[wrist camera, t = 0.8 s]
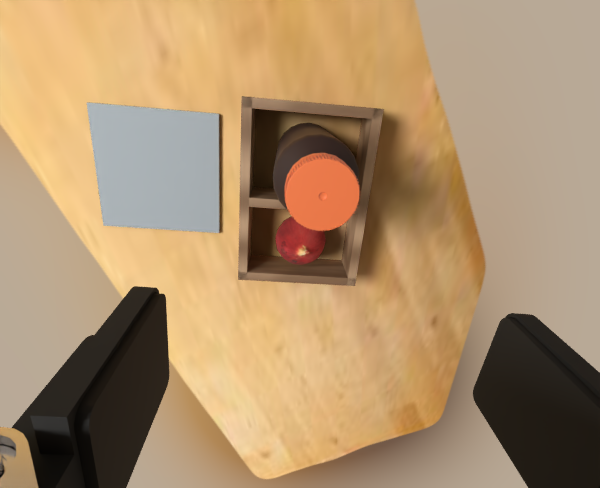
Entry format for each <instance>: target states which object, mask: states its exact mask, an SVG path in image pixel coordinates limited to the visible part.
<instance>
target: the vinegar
mask: <svg viewBox="0 0 600 488" xmlns="http://www.w3.org/2000/svg"><path fill="white" fill-rule="evenodd" d="M273 184H274V190H275V192H276V195H277V197H278V199H279V201H280V203H281V204H282V205H283V206H284V207H285V208H286V209H287V210H288V211H289V212H290V215H292V218H293V217H294V220H296V222H298V224H301V226H302V225H303V226H304V227H306V228H309V229H312V230H316V231H323V230H325V231H326V230H328V231H329V230H332V229H335V228H336V227H337V228H338V227H339V226H340V227H341V225H343V223H346V221H348V220H349V219H351V218H350V217H351V216H353V215H352V214H353V213H354V212H355V211H356V208H358V207H357V205H359V204H358V202H360V201H359V199H360V197H359V196H360V194H359V193H360V191H359V189H360V188H359V186H360V185H359V169H358V165H357V162H356V159H355V156H354V155H353V154H352V152H351V151H350V150H349V148H348V147H347V146H346V145H345V144H344V143H342V142H341V141H340V140H338V139H337V138H336V137H334V136H333V135H331V134H330V133H329V132H327V131H326V130H324V129H323V128H322V127H320V126H319V125H315V124H312V123H300V124H297V125H295V126H293V127H291V128H289V129H288V130H287V131H286V132H285V133H284V134H283V136H282V137H281V139H280V141H279V144H278V148H277V153H276V159H275V165H274V171H273ZM354 214H355V213H354Z"/></svg>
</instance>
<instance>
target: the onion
mask: <svg viewBox="0 0 600 488" xmlns="http://www.w3.org/2000/svg"><path fill="white" fill-rule="evenodd" d="M275 239H276V245H277V250H278V251H279V253H280V254H281V256H282V257H283V258H284V259H285V260H287V261H288V262H290V263H292V264H297V265H304V264H307V263H311V262H313V261H314V260H316V259H317V258H318V257H319V256H320V254H321V253H322V251H323V249H324V246H325V242H326V239H325V233H324V230H323V231H316V230H312V229H309V228H306V227H304V226H303V225H302V226H301V224H298V222H296V220H294V217H293V218H292V216H291V217H289V218H288V219H286V220H285V221H284V222H283V223H282V224H281V225H280V227H279V228H278V231H277V234H276V238H275Z"/></svg>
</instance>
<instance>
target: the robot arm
mask: <svg viewBox="0 0 600 488" xmlns="http://www.w3.org/2000/svg"><path fill="white" fill-rule="evenodd" d="M168 380H169V357H168V335H167V314H166V297H165V295H164V294H159V291H158V289H157V288H150V287H136V286H135V287H133V288H132V289H131V290H130V291H129V292H128V294H127V295H126V296H125V297H124V299H123V300H122V301H121V302H120V304H119V305H118V306H117V307H116V309H115V310H114V311H113V313H112V314H111V315H110V316H109V318H108V319H107V320H106V321H105V323H104V324H103V325H102V326H101V328H100V329H99V330H98V331H97V333H96V334H95V335H91V336H89V337H87V338H86V339H85V340H84V341H83V342H82V343H81V344H80V345H79V347H78V348H77V349H76V350H75V352H74V353H73V354H72V355H71V356H70V358H69V359H68V360H67V361H66V362H65V364H64V365H63V366H62V367H61V368H60V370H59V371H58V372H57V373H56V374H55V376H54V377H53V378H52V379H51V381H50V382H49V383H48V385H46V387H45V388H44V389H43V390H42V391H41V393H40V394H39V395H38V396H37V398H36V399H35V400H34V401H33V403H32V404H31V405H30V406H29V407H28V408H27V410H26V411H25V412H24V413H23V415H22V416H21V417H20V418H19V420H18V421H17V422H16V423H15V424H14V425H13V427H12V428H6V427H0V488H126V487H127V484H128V482H129V479H130V477H131V474H132V472H133V470H134V467H135V464H136V462H137V460H138V457H139V455H140V452H141V450H142V447H143V444H144V442H145V440H146V437H147V435H148V432H149V430H150V428H151V425H152V422H153V420H154V418H155V415H156V413H157V410H158V408H159V405H160V403H161V400H162V398H163V395H164V393H165V390H166V388H167V385H168ZM473 397H474V401H475V403H476V405H477V406H478V408H479V409H480V411H481V413H482V414H483V416H484V417H485V419H486V420H487V422H488V424H489V425H490V427H491V429H492V430H493V432H494V433H495V435H496V437H497V438H498V440H499V441H500V443H501V445H502V446H503V448H504V449H505V451H506V453H507V454H508V456H509V457H510V459H511V461H512V462H513V464H514V465H515V467H516V469H517V470H518V472H519V473H520V475H521V477H522V478H523V480H524V481H525V483H526V485H527V486H528V488H600V373H599V372H598V371H597V370H596V369H595V368H594V367H592V366H591V365H590V364H589V363H588V362H587V361H586V360H584V359H583V358H582V357H581V356H580V355H579V354H578V353H576V352H575V351H574V350H573V349H572V348H571V347H570V346H568V345H567V344H566V343H565V342H564V341H563V340H562V339H560V338H559V337H558V336H557V335H556V334H555V333H554V332H552V331H551V330H550V329H549V328H548V327H547V326H546V325H544V324H543V323H542V322H541V321H540V320H538V318H536V317H535V316H533V315H528V314H514V313H511V314H508V315H507V316H506V317H505V318H503V319H502V320H501V321H500V323H499V326H498V328H497V331H496V333H495V336H494V338H493V341H492V343H491V346H490V349H489V351H488V353H487V356H486V359H485V361H484V364H483V366H482V369H481V371H480V374H479V376H478V379H477V381H476V384H475V386H474V390H473Z"/></svg>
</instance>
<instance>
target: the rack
mask: <svg viewBox="0 0 600 488" xmlns="http://www.w3.org/2000/svg"><path fill="white" fill-rule="evenodd" d="M256 109H265V110H277V111H288V112H299V113H311V114H322V115H333V116H345V117H356V118H362V121H361V128H360V135H359V142H358V149H357V156H356V162H357V165H358V169H359V185H360V186H359V188H360V189H359V191H360V193H359V194H360V196H359V197H360V199H359V201H360V202H358V204H359V205H357V207H358V208H356V211H355V212H354V213H355V214H354V213H353V214H352V215H353V216H351V217H350V218H351V219H349V220H348V221H347V227H346V234H345V241H344V248H343V255H342V260H326V259H316V260H314V261H313V262H311V263H307V264H304V265H297V264H292V263H290V262H288V261H287V260H285V259H284V258H283V257H276V256H259V255H251V237H252V207H260V208H274V209H286V208H285V207H284V206H283V205H282V204H281V203H280V201H279V199H278V197H277V195H276V192H275V190H274V189H272V188H258V187H253V177H254V147H255V117H256ZM383 111H384V109H377V108H366V107H355V106H344V105H332V104H321V103H310V102H299V101H288V100H277V99H266V98H255V97H244V96H242V108H241V161H240V214H239V267H238V280H256V281H274V282H292V283H310V284H328V285H347V286H355V283H356V277H357V271H358V264H359V258H360V252H361V246H362V240H363V234H364V228H365V221H366V215H367V209H368V203H369V197H370V191H371V184H372V178H373V172H374V166H375V160H376V154H377V148H378V141H379V135H380V129H381V123H382V117H383Z"/></svg>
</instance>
